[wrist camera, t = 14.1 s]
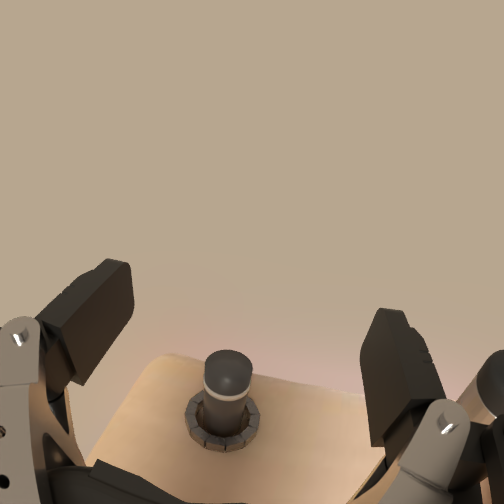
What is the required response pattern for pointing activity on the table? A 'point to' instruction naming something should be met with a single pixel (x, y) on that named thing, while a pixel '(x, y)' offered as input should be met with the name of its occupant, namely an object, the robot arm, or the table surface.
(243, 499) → the table surface
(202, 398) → the block ring
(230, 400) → the dark grey canister
